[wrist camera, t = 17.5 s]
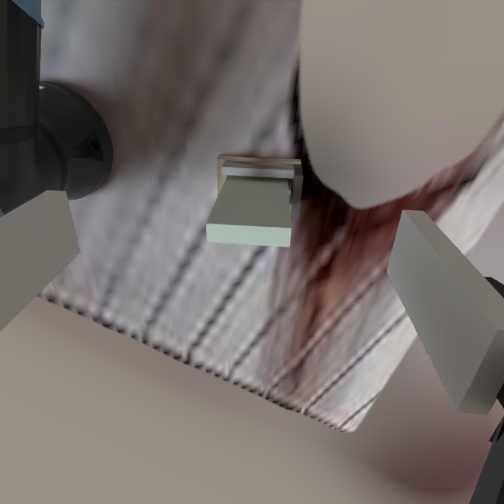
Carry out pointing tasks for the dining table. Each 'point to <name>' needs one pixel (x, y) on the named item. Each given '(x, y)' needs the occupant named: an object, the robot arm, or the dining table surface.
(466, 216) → the dining table surface
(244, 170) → the cradle
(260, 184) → the flat rectangular panel
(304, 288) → the dining table surface
